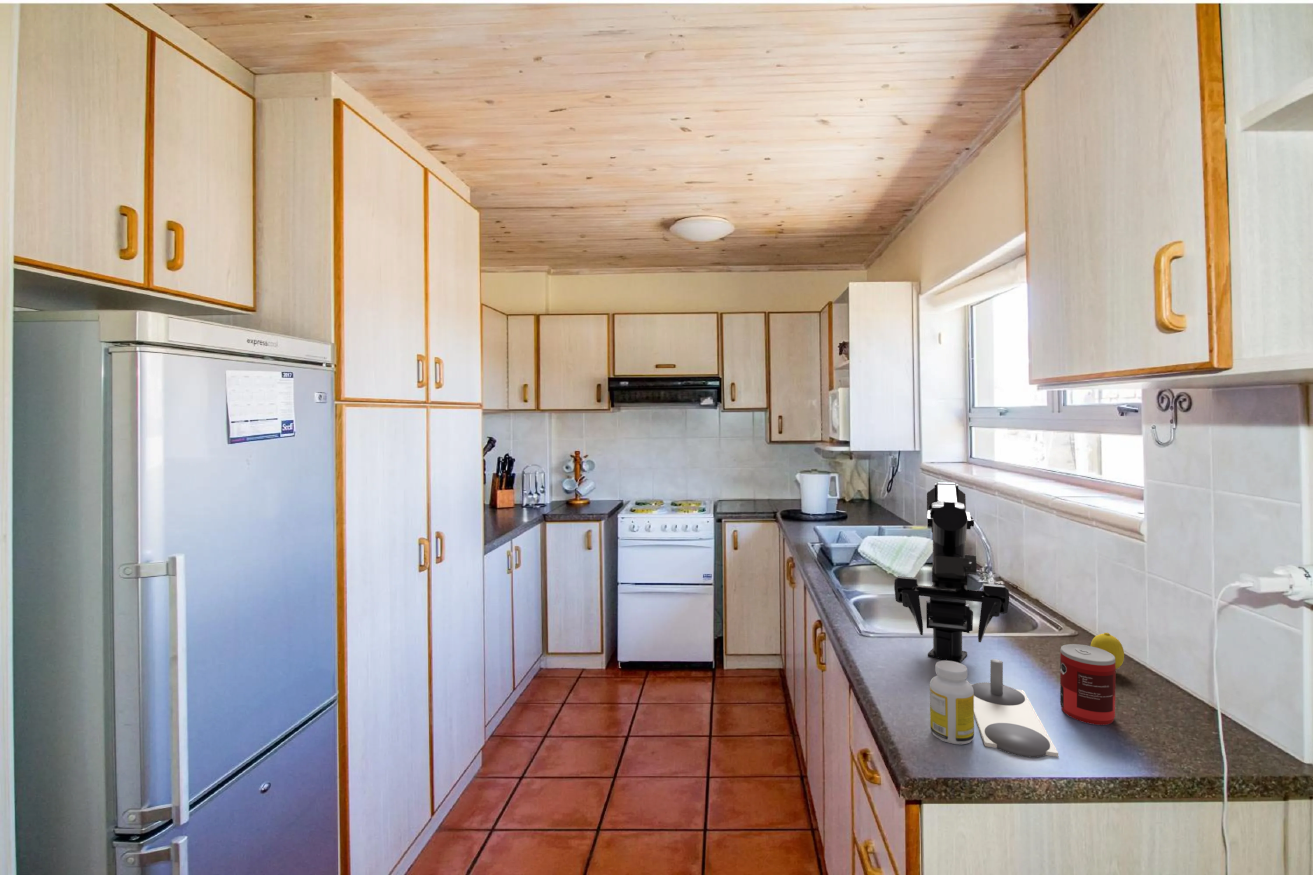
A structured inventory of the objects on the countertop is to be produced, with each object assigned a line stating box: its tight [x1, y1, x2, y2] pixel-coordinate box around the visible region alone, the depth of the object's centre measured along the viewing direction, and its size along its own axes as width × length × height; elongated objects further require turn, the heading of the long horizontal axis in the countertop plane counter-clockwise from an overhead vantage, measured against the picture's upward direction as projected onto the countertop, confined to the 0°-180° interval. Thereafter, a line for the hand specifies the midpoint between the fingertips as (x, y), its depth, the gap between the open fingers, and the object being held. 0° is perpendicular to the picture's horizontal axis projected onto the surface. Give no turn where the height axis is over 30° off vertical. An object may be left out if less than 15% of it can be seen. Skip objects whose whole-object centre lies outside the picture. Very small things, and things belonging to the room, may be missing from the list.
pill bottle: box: [929, 660, 975, 745], centre depth 98 cm, size 6×6×12 cm
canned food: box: [1059, 643, 1117, 726], centre depth 104 cm, size 8×8×11 cm
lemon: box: [1089, 632, 1125, 670], centre depth 121 cm, size 6×6×8 cm
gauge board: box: [970, 658, 1059, 758], centre depth 104 cm, size 25×10×7 cm, turn 160°
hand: (950, 637), depth 105 cm, fingers open, 9 cm apart
